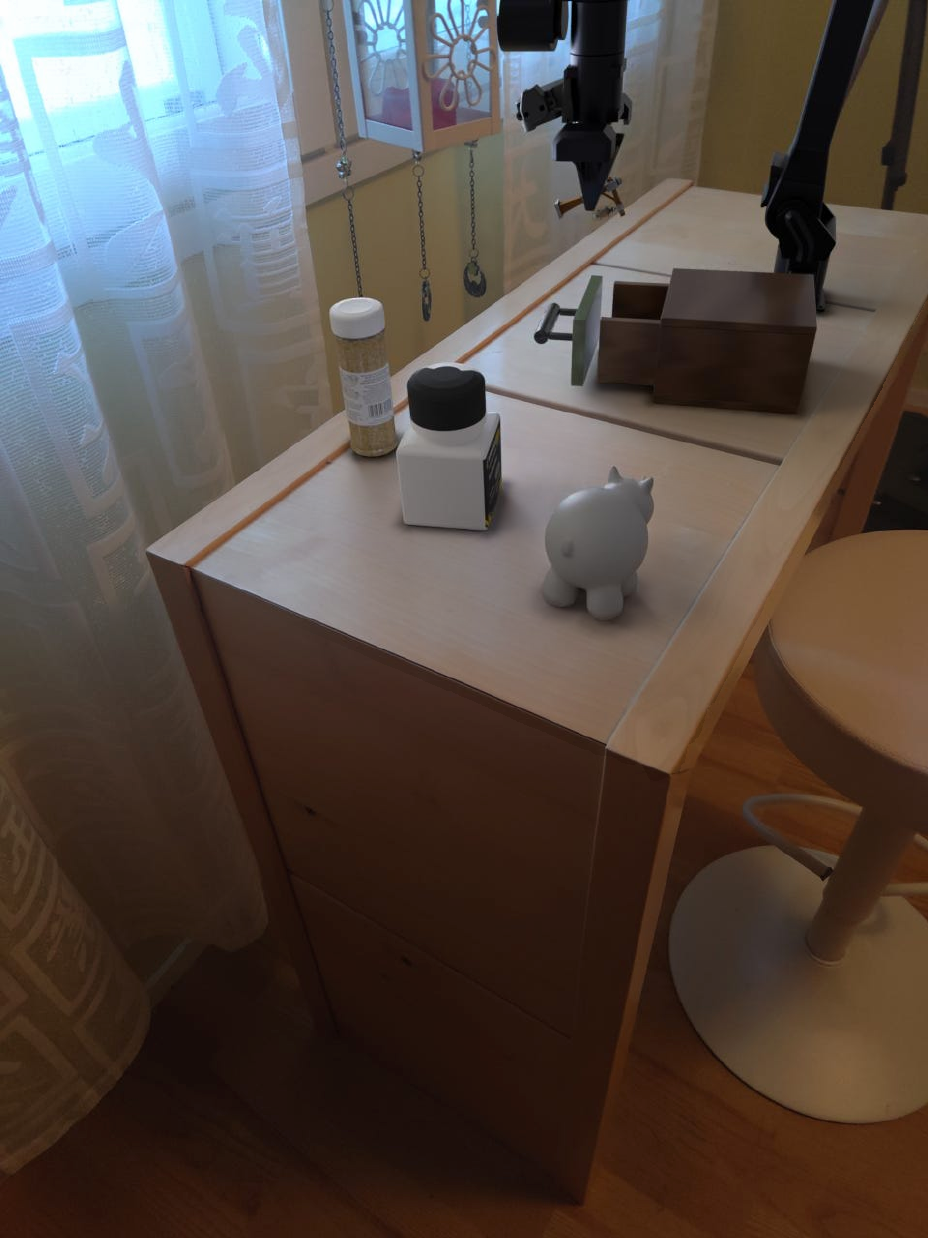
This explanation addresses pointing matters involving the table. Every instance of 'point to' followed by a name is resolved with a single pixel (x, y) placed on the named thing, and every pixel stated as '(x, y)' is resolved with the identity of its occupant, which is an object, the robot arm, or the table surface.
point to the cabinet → (735, 340)
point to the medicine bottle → (449, 450)
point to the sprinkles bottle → (365, 374)
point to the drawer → (612, 331)
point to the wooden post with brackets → (608, 186)
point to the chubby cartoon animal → (598, 544)
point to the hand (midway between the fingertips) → (590, 207)
